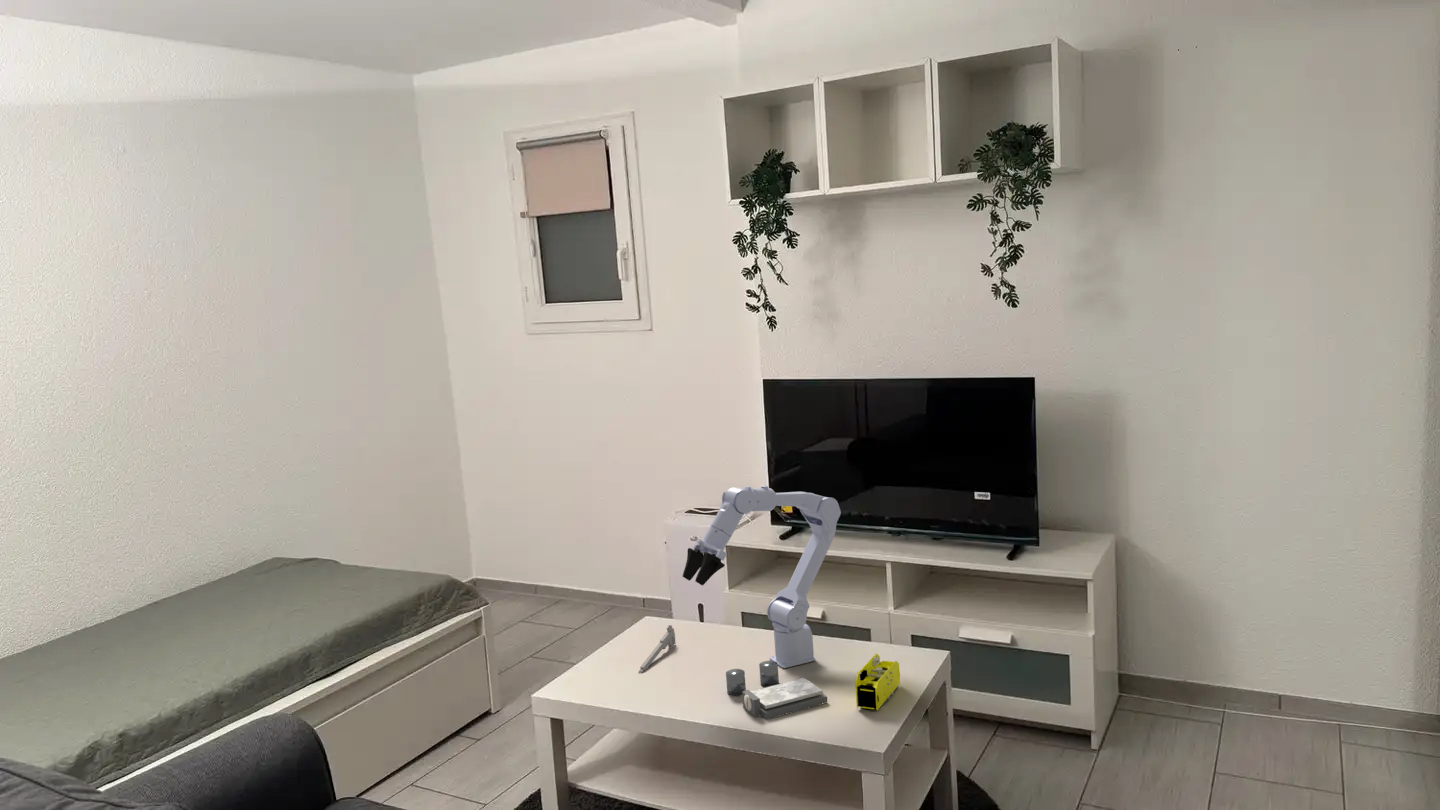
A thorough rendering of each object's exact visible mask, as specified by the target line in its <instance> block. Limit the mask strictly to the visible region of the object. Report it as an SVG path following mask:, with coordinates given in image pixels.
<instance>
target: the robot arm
mask: <svg viewBox="0 0 1440 810" xmlns="http://www.w3.org/2000/svg"><path fill="white" fill-rule="evenodd" d="M839 505H840V504H839V503H838V500H836V498H834V497H828V496H823V495H819V494H815V493H813V492H806V491H789V492H788V491H787V492H776V491H774V489H772V488H770V487H769V486H768V485H761V486H760V487H754V488H753V487H751V486H750V485H749V486H748V485H746V486H745V487H744V488H740V487H737V486H733V487H732V486H731V487H730V488H728V489H727V490H726V491H724V492H723V493H722V496H721V505H720V507H719V509H718V511H717V513H716V515H715V516H714V519H713V520H712V522H711V524H710V526H709V528H708V529H707V531H706V533H705V534H704V536H703V538H702V540H701V539H696V541H695V544H694V545H693V546H692V548H690V547H688V548H687V557H686V562H685V566H684V570H683V573H682V575H681V576H682V577H683V579H686V580H687V581H691V580H692V579H693V578H694V577H695V575H696V577H695V580H694V582H695V583H697V584H699V585H700V586H704V585H705V584H706V583H707V582H708V581H709V580H710V578H712V576H714V574H715V573H717V572H718V571H719V570H721V569H722V568H724V567H725V566H726V564H725V563H723V562H722V561H724V560H726V559H725V558H726V557H727V556H728V553H727V552H725V551H724V550H725V548H726V546H727V545H728V543H729V541H730V539H731V538H732V536H733V534H734V532H735V531H736V529H737V527H738V525H739V524H740V522H741V520H742V518H743V516H744V514H745V515H747V514H750V513H751V512H771V511H772V510H774V509H775V507H795V508H797V509H799V511H800V513H801V515H802V516H803V517H804V519H805V521H806V522H807V523H808V526H809V527H810V530H811V532H812V533H811V536H810V537H809V540H808V542H807V544H806V546H805V548H804V549H803V552H802V554H801V557H800V559H799V561H798V562H797V565H796V567H795V570H794V571H793V573H792V576H791V578H790V580H789V582H788V584H787V585H786V587H785V588H783V589H781V590H779V591H778V592H777V593H776V596H775V597H774V599H772V600H771V601H770V602H769V604H768V606H767V609H766V615H767V618H768V619H769V620H770V621H771V622H772V623H771V624H772V627H773V638H774V639H773V641H774V651H775V652H774V654H775V655H773V656H770V657H769V661H775V662H777V663H778V667H780V668H782V669H787V668H792V667H794V666H798V665H803V664H806V663H810V662H811V663H812V662H814V661H816V658H815V653H814V639H813V638H814V636H813V633H812V629H811V627H810V626H809V625H808V624H807V623H806V622H807V619H808V611H809V609H810V604H809V601H808V598H807V596H808V593H809V592H810V590H811V587H812V585H813V583H814V581H815V578H816V577H817V574H818V573H819V571H820V568H821V567H822V564H823V562H824V560H825V557H826V555H827V554H828V551H829V549H830V546H831V545H832V543H833V541H834V538H835V536H836V530H837V523H838V521H839V518H840V517H841V514H842V511H841V508H840V506H839Z"/></svg>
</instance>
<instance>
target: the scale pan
mask: <svg viewBox="0 0 1440 810" xmlns="http://www.w3.org/2000/svg"><path fill="white" fill-rule="evenodd" d="M750 692H752V693H753V694H754V695H756V696H757V697H758V698H760V705H761V706H762V707H763V708H765V709H768V708H772V707H776V706H779V705H783V704H787V703H791V702H794V701H798V700H802V699H805V698H809V697H813V696H817V695H820V694H824V691H823V689H821V688H820V687H818V686H817V685H815V684H814V683H813V682H811V681H809V680H808V679H806V678H805V677H801V678H797V679H795V680H790V681H787V682H782V683H779V684H778V685H774V686H770V687H762V688H760V689H755V690H750Z"/></svg>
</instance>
